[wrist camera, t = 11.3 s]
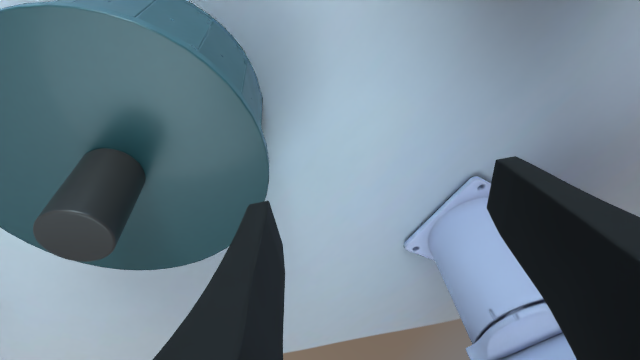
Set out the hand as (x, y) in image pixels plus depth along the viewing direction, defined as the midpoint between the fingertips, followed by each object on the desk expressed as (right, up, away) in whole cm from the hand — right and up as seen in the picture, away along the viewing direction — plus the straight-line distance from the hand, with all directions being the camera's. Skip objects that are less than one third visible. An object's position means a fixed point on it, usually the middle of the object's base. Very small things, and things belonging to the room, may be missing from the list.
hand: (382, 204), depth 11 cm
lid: (-10, +1, +3) cm, 11 cm away
